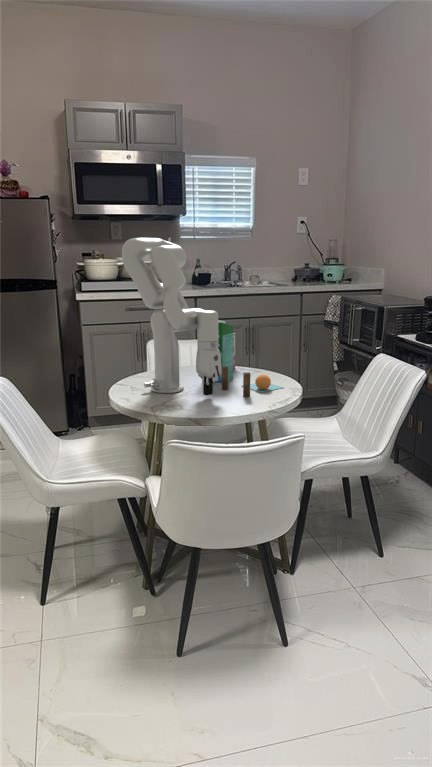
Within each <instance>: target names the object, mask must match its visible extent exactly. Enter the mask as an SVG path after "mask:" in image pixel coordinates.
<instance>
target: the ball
mask: <svg viewBox="0 0 432 767" xmlns="http://www.w3.org/2000/svg"><path fill="white" fill-rule="evenodd" d="M255 384H256V386H257V387H258V388H259V389H261V390H265V389H267V388H269V386H270V384H272V381H271V378H270V377H269V376H268V375H266V374H260V375H258V376H256V379H255Z"/></svg>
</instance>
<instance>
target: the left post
mask: <svg viewBox="0 0 432 767" xmlns="http://www.w3.org/2000/svg"><path fill="white" fill-rule="evenodd" d="M221 390H222V391H228V390H229V380H228V366H222V383H221Z"/></svg>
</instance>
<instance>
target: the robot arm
mask: <svg viewBox="0 0 432 767" xmlns="http://www.w3.org/2000/svg"><path fill="white" fill-rule="evenodd" d="M121 259H122V264H123V266H124V268H125V270H126V272H127V274H128V275H129V276H130V277H131V279H132V281H133V283H134V285H135V287H136V289H137V291H138V294H139V295H140V298H141V299H142V301H143V303H144V305H145V306H146V307H147V308H148V309H152V310H153V309H154V310H155V309H157V310H155V311H153V313H152V315H151V316H150V326H151V331H152V332H151V333H152V337H153V338H152V339H153V351H154V352H153V356H154V360H153V361H154V378H152V380H151V381H148V382H144V383H143V388H145V389H147V388H150V390H151V391H152V392H154V393H157V394H158V393H159V394H175V393H178V392H182V391H183V390H184V385H183V384H181V383H180V345H179V341H178V338H177V336H176V334H175V333H177V332H178V333H179V332H184V331H185V332H186V331H191V330H197V331H196V332H197V333H196V334H197V336H196V337H197V349H196V357H195V358H196V360H195V370H196V374H197V375H198V377H199V378H201V383H202V390H203V395H204V396H207V397H208V396H212V395H214V384H215V383H216V382H215V381H218V376H221V374H222V368H221V356H220V351H219V350H218V320H219V313H218V312H217V311H216V310H211V309H210V310H207V309H203V308H198V307H194V308H189V306H188V304H187V302H186V300H185V298H184V296H183V294H182V292H181V290H180V289H183V287H185V285H186V283H187V279H186V277H185V275H184V272H183V271H182V267H183V266H185V265H186V262H187V254H186V252H185V250H184V249H183V247H182V246H180V245H178V244H176V243H173V242H170V241H167V240H164V239H162V238H159V237H134V238H130V239H128V240H126V241H125V242H124V243H123V245H122V249H121ZM145 261H146V262H147V261H149V262H150V261H151V263H152V265H153V267H154V269H155V271H156V274H157V275H158V277H159V279H158V278H157V276H156V274H155V272H154V270H153V269H152V268H151V267H150V266H149V265H147V264H146V263H145ZM159 280H160V281H159Z"/></svg>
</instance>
